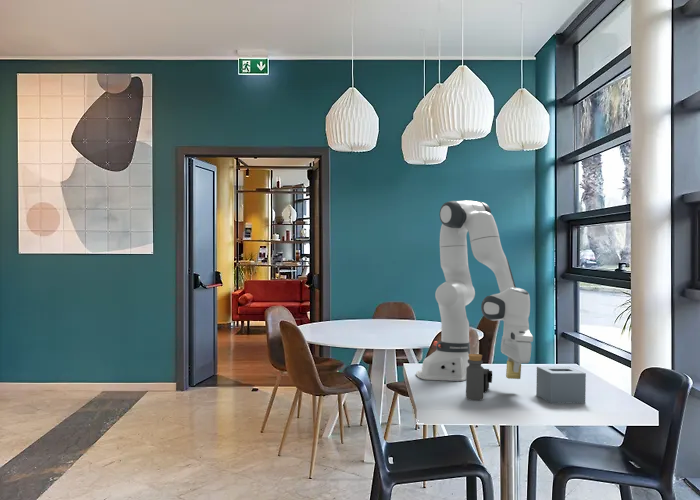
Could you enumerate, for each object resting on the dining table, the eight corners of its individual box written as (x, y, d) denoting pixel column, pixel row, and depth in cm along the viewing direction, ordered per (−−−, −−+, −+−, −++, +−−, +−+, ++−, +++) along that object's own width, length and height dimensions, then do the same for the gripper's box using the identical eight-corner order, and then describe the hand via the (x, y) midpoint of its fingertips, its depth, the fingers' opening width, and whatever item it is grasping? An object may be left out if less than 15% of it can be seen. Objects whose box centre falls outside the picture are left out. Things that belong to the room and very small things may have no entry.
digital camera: (488, 393, 208) (488, 374, 209) (473, 392, 210) (473, 372, 210) (492, 387, 218) (492, 369, 218) (477, 386, 220) (477, 367, 220)
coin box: (550, 403, 196) (551, 373, 196) (536, 394, 207) (536, 366, 208) (585, 403, 197) (585, 373, 197) (568, 394, 209) (569, 366, 209)
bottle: (480, 401, 196) (480, 356, 197) (463, 399, 199) (464, 355, 200) (485, 398, 201) (486, 354, 201) (469, 395, 204) (470, 352, 205)
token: (508, 378, 211) (509, 362, 210) (506, 376, 213) (506, 360, 213) (520, 378, 211) (521, 362, 211) (518, 377, 213) (518, 361, 213)
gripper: (497, 327, 222) (495, 364, 222) (517, 337, 201) (515, 376, 202) (513, 328, 222) (511, 364, 222) (535, 337, 202) (532, 377, 202)
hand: (513, 370), depth 212 cm, fingers closed on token, 2 cm apart
